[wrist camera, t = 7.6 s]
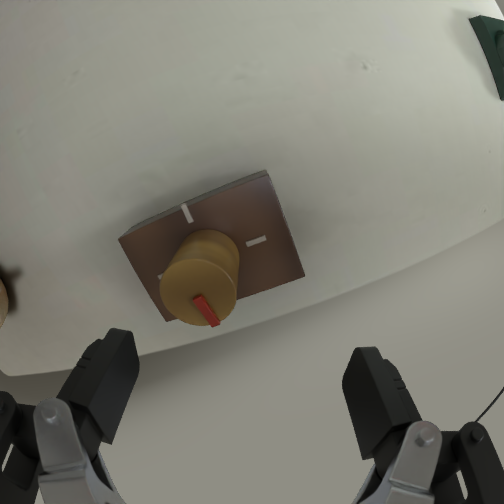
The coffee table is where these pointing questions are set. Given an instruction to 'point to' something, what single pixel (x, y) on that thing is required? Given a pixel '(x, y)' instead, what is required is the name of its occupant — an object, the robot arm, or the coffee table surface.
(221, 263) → the dimmer knob
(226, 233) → the dimmer panel
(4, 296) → the sculpture
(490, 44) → the switch box
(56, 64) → the coffee table surface
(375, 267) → the coffee table surface
